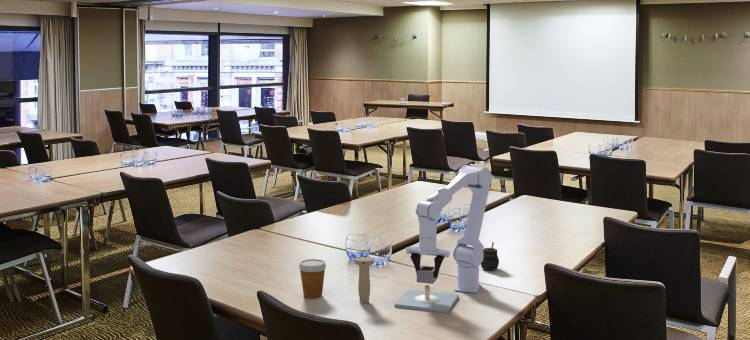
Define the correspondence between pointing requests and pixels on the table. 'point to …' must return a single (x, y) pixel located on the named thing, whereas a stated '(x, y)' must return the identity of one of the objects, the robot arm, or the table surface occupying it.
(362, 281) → the handle
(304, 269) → the disposable coffee cup
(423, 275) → the hollow square tube
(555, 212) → the table surface
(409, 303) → the board
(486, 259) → the mate gourd
